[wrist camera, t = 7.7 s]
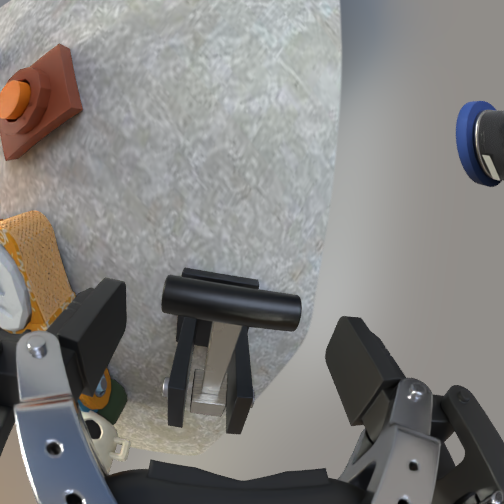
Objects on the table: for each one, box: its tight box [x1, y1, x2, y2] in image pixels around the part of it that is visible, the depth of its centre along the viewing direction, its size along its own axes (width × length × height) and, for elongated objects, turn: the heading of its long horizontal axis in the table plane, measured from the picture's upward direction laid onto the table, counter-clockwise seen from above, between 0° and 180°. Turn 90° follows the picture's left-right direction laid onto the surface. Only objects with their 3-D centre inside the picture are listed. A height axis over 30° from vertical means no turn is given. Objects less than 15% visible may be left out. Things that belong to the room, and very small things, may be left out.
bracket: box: [163, 268, 259, 434], centre depth 21 cm, size 8×7×13 cm
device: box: [0, 211, 111, 413], centre depth 20 cm, size 23×8×30 cm
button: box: [0, 80, 31, 119], centre depth 14 cm, size 4×4×2 cm
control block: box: [0, 44, 83, 161], centre depth 16 cm, size 10×8×4 cm
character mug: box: [81, 378, 131, 473], centre depth 24 cm, size 11×7×13 cm, turn 85°
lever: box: [161, 275, 302, 416], centre depth 13 cm, size 12×5×2 cm, turn 168°
